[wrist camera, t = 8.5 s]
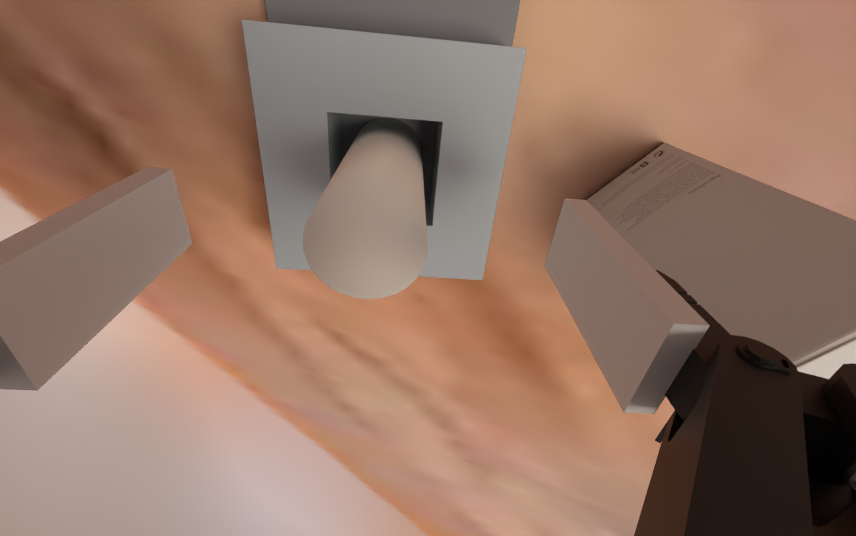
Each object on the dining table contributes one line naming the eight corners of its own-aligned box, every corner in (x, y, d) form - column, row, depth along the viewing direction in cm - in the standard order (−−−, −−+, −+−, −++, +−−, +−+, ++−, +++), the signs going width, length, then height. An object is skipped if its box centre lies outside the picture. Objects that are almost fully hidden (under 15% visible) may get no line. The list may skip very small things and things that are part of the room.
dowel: (353, 114, 21) (296, 184, 11) (424, 120, 22) (433, 193, 11) (354, 183, 23) (307, 295, 13) (419, 187, 24) (422, 301, 13)
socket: (267, -38, 19) (223, -61, 14) (517, -10, 19) (546, -23, 15) (298, 261, 27) (277, 303, 23) (470, 271, 28) (480, 313, 24)
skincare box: (577, 201, 26) (753, 378, 12) (670, 133, 23) (1008, 258, 10) (632, 278, 29) (817, 483, 16) (718, 225, 27) (1018, 409, 14)
